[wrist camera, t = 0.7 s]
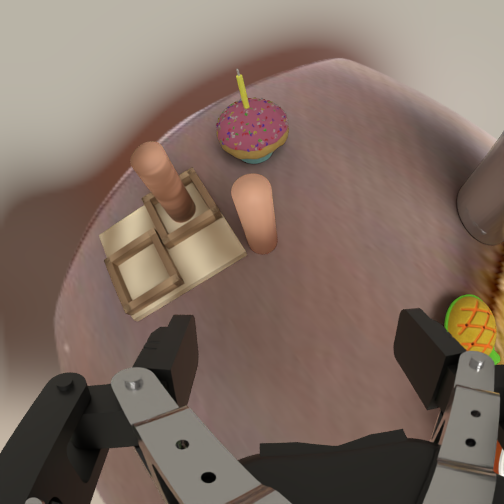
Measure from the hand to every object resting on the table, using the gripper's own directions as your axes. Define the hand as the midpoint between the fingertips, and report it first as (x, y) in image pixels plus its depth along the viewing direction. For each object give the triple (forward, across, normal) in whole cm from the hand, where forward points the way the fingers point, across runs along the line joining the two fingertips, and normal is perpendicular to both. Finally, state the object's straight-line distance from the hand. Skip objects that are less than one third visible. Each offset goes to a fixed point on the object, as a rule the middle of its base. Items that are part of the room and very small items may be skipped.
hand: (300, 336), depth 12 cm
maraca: (+15, -21, +12) cm, 29 cm away
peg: (+24, +1, +2) cm, 24 cm away
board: (+25, +12, +3) cm, 28 cm away
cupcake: (+32, +2, -8) cm, 33 cm away
